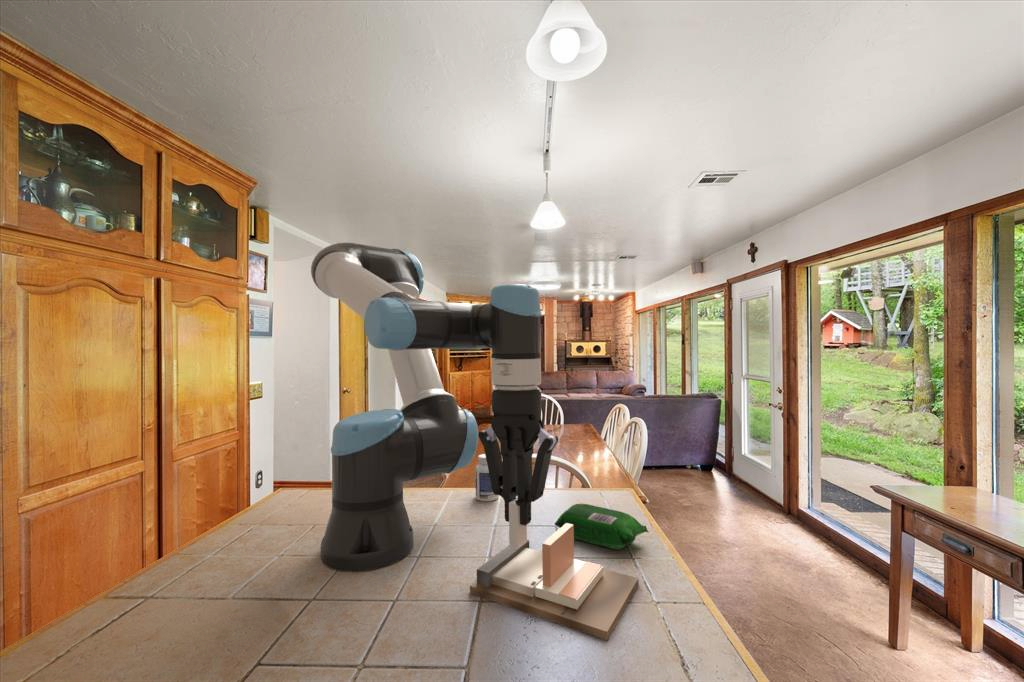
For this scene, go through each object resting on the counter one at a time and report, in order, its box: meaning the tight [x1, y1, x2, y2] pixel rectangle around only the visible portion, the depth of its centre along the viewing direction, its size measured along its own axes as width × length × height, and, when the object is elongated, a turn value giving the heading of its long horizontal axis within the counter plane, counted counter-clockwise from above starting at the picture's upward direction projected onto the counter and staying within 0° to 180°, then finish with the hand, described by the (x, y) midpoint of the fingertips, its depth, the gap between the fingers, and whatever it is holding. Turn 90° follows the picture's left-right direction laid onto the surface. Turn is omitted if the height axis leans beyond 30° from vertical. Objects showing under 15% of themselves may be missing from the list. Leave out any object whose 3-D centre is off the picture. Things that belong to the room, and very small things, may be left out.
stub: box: [535, 523, 604, 609], centre depth 62 cm, size 6×10×7 cm, turn 149°
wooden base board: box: [469, 539, 640, 641], centre depth 63 cm, size 20×14×3 cm
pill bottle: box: [475, 453, 500, 502], centre depth 101 cm, size 5×5×10 cm
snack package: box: [554, 503, 650, 550], centre depth 79 cm, size 7×16×5 cm, turn 53°
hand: (518, 544), depth 66 cm, fingers closed
